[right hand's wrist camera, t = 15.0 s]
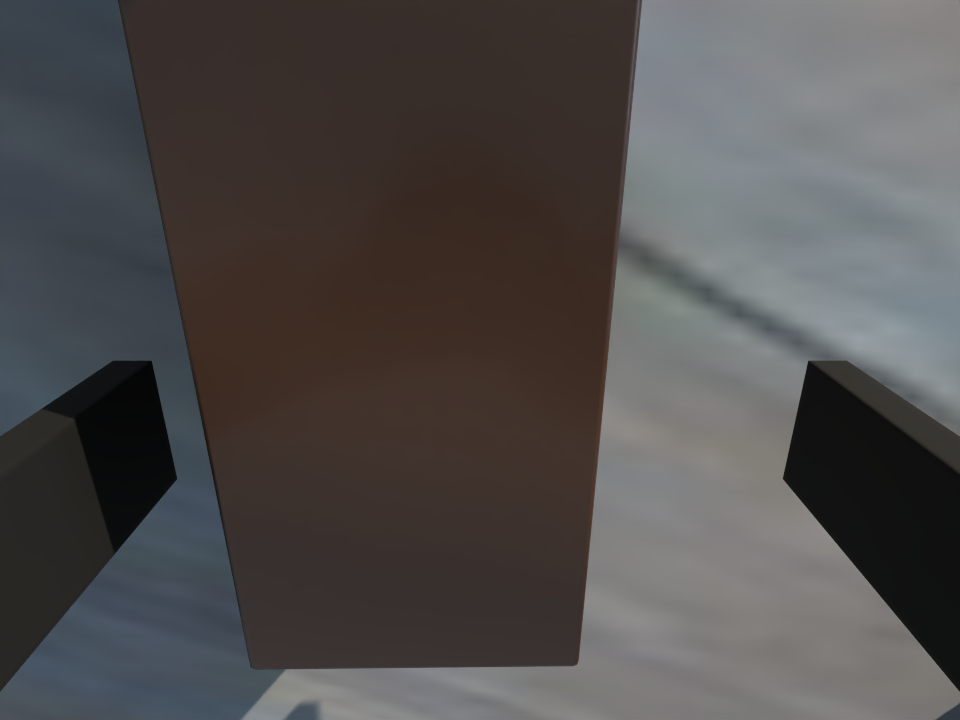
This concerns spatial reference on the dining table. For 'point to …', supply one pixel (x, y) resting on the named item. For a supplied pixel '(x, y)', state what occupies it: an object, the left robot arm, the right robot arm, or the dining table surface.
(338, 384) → the walnut box
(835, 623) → the dining table surface
